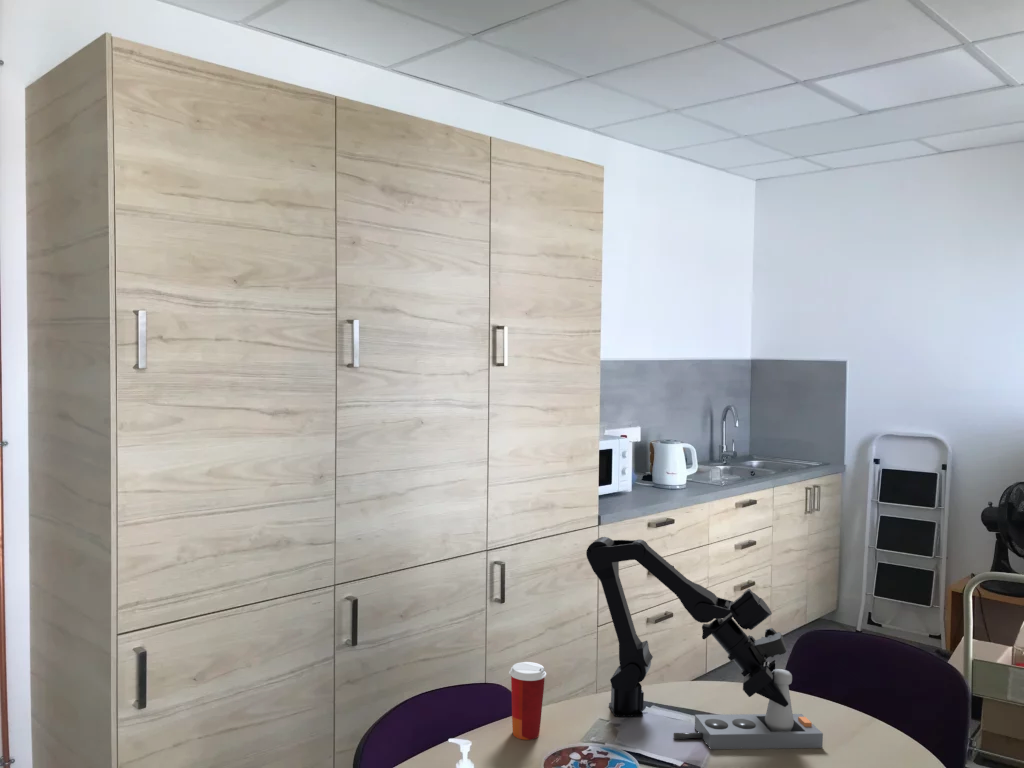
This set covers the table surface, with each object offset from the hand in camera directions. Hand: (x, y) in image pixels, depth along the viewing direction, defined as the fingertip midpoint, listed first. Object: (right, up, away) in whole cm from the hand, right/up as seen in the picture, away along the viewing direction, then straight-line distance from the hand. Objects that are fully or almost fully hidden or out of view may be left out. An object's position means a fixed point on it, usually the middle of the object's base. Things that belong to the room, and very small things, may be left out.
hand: (786, 702), depth 169 cm
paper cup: (-55, -6, -2) cm, 56 cm away
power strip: (-9, -7, 0) cm, 12 cm away
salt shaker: (-2, -7, +1) cm, 7 cm away
